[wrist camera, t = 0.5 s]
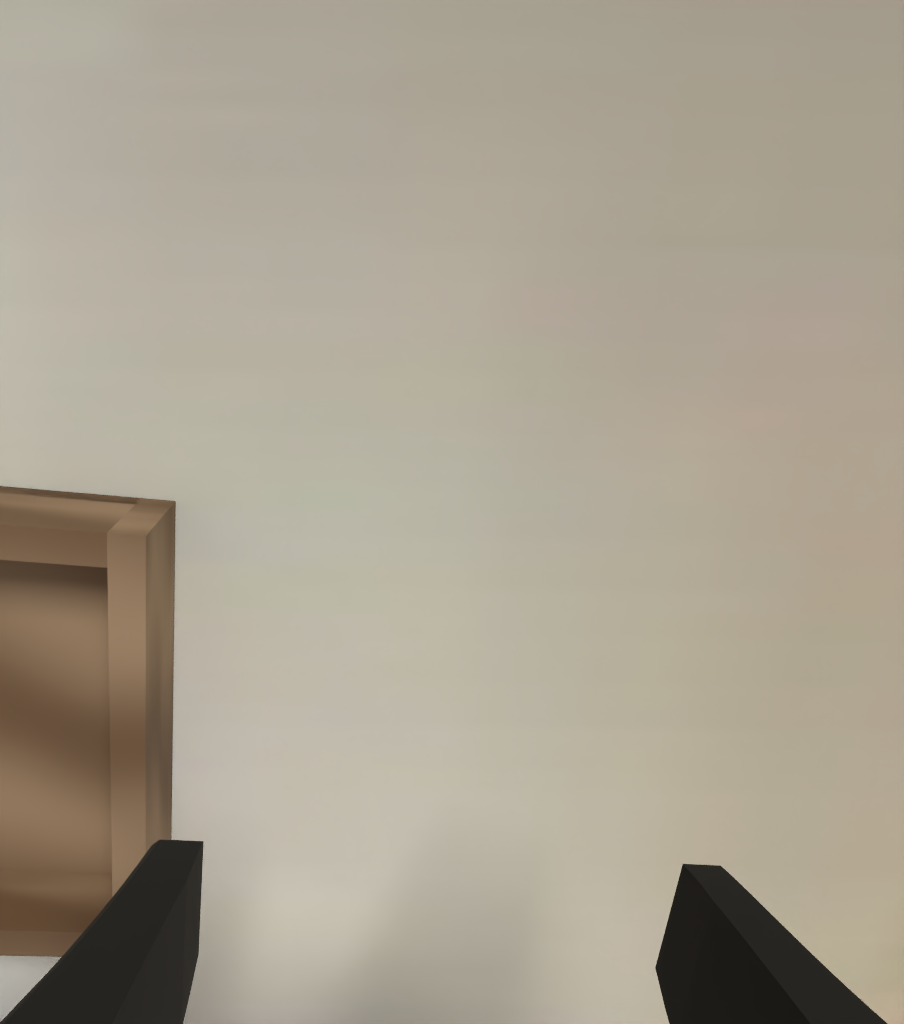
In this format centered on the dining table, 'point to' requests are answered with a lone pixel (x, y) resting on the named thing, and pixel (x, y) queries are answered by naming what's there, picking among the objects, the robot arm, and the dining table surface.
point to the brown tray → (81, 705)
